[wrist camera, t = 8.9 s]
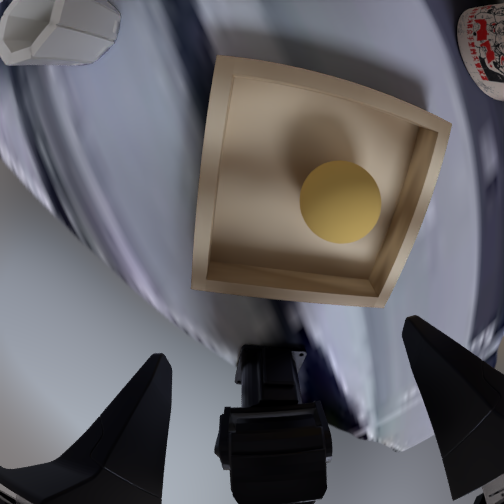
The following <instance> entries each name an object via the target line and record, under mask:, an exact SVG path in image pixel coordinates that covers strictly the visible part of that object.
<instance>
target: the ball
mask: <svg viewBox="0 0 504 504" xmlns="http://www.w3.org/2000/svg"><path fill="white" fill-rule="evenodd" d="M300 210H301V214H302V217H303V219H304V221H305V223H306V224H307V226H308V227H309V228H310V230H311V231H312V232H313V233H314V234H316V235H317V236H318V237H320V238H322V239H324V240H326V241H328V242H332V243H338V244H345V243H351V242H354V241H357V240H359V239H361V238H363V237H364V236H366V235H367V234H368V233H369V232H370V231H371V230H372V229H373V227H374V226H375V224H376V223H377V221H378V218H379V216H380V212H381V195H380V191H379V188H378V186H377V183H376V182H375V180H374V178H373V177H372V176H371V175H370V174H369V173H368V172H367V171H366V170H365V169H364V168H362V167H361V166H359V165H357V164H355V163H352V162H348V161H342V160H337V161H330V162H327V163H324V164H322V165H320V166H318V167H317V168H315V169H314V170H313V171H312V172H311V173H310V174H309V175H308V177H307V178H306V180H305V181H304V183H303V186H302V188H301V192H300Z"/></svg>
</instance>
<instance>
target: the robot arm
mask: <svg viewBox="0 0 504 504" xmlns="http://www.w3.org/2000/svg"><path fill="white" fill-rule="evenodd" d="M402 338H403V341H404V345H405V348H406V352H407V355H408V359H409V362H410V366H411V369H412V372H413V375H414V378H415V380H416V383H417V385H418V388H419V390H420V393H421V396H422V398H423V401H424V404H425V407H426V410H427V412H428V415H429V418H430V421H431V424H432V427H433V430H434V433H435V436H436V440H437V443H438V446H439V449H440V453H441V456H442V458H443V459H442V460H443V464H444V467H445V471H446V475H447V479H448V483H449V486H450V491H451V496H452V499H453V501H454V500H456V499H458V498H460V497H463V496H465V495H467V494H469V493H471V492H473V491H475V490H476V489H478V488H480V487H482V489H483V492H484V493H482V494H480V495H479V496H477V497H476V499H475V502H474V504H504V374H502V373H501V372H499V371H497V370H496V369H494V368H493V367H491V366H490V365H489V364H487V363H486V362H484V361H482V360H481V359H480V358H479V357H477V356H476V355H474V354H473V353H471V352H470V351H469V350H467V349H466V348H464V347H463V346H461V345H460V344H459V343H457V342H456V341H454V340H453V339H451V338H450V337H448V336H447V335H445V334H444V333H442V332H441V331H440V330H438V329H437V328H435V327H434V326H432V325H431V324H429V323H428V322H426V321H425V320H423V319H422V318H420V317H419V316H417V315H414V316H410V317H407V318H406V320H405V323H404V327H403V331H402ZM305 357H306V350H305V349H298V348H280V347H266V346H254V345H244V346H242V348H241V353H240V357H239V362H238V367H237V371H236V376H235V383H236V384H242V407H240V408H231V407H225V409H224V414H222V415H220V424H219V425H220V426H219V433H218V437H217V440H216V445H215V449H214V450H215V454H216V455H217V456H218V457H219V458H220V461H221V463H222V467H223V469H224V470H230V482H231V491H232V493H233V497H234V498H235V500H236V501H237V503H238V504H314V503H315V501H316V500H321V499H322V498H323V496H324V494H325V492H326V490H327V481H326V480H327V477H326V463H328V462H330V461H331V458H332V439H331V433H330V430H329V427H328V423H327V420H326V417H325V414H324V411H323V408H322V405H321V402H320V401H314V402H312V403H303V404H302V399H301V393H300V386H299V380H298V372H299V370H300V367H301V365H302V363H303V361H304V359H305ZM171 398H172V368H171V365H170V364H169V362H168V360H167V358H166V356H165V355H164V354H163V353H155V354H153V355H151V356H150V358H149V359H148V360H147V361H146V362H145V364H144V365H143V366H142V367H141V368H140V369H139V371H138V372H137V373H136V374H135V375H134V376H133V378H132V379H131V380H130V381H129V382H128V383H127V384H126V386H125V387H124V388H123V389H122V390H121V391H120V393H119V394H118V395H117V396H116V397H115V398H114V400H113V401H112V402H111V403H110V404H109V405H108V407H107V408H106V409H105V410H104V411H103V413H102V414H101V415H100V417H98V418H97V420H96V421H95V422H94V423H93V424H92V425H91V426H90V428H89V429H88V430H87V431H86V432H85V433H84V434H83V435H82V436H81V437H80V438H79V439H78V440H77V441H76V442H75V443H74V444H73V445H72V446H71V447H70V448H69V449H67V450H66V451H65V452H64V453H63V454H62V455H61V456H60V457H59V458H57V459H56V460H54V461H51V462H48V463H44V464H39V465H34V466H29V467H23V468H17V469H6V468H3V467H1V466H0V483H1V484H2V485H3V486H5V487H6V488H8V489H9V490H11V491H13V492H14V493H16V494H17V495H16V498H14V497H12V496H10V495H8V494H7V493H5V492H3V491H1V490H0V504H161V501H162V499H161V498H162V488H163V476H164V465H165V455H166V447H167V438H168V429H169V421H170V413H171V402H172V401H171V400H172V399H171Z"/></svg>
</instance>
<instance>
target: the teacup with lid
mask: <svg viewBox="0 0 504 504" xmlns="http://www.w3.org/2000/svg"><path fill="white" fill-rule="evenodd" d="M457 38H458V45H459V49H460V53H461V56H462V59H463V61H464V64H465V66H466V68H467V70H468V72H469V74H470V76H471V77H472V79H473V80H474V82H475V83H476V84H477V86H478V87H479V88H480V89H481V90H482V91H483V92H484V93H485V94H487V95H488V96H490V97H491V98H494V99H497V100H501V101H504V3H503V4H494V5H487V6H481V7H475V8H470V9H467V10H466V11H464V12H463V13H462V15H461V16H460V18H459V21H458V26H457Z"/></svg>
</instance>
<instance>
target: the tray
mask: <svg viewBox="0 0 504 504" xmlns="http://www.w3.org/2000/svg"><path fill="white" fill-rule="evenodd" d="M451 127H452V124H451V123H450V122H448V121H446V120H444V119H442V118H440V117H438V116H436V115H434V114H432V113H430V112H427V111H425V110H423V109H421V108H419V107H417V106H414V105H412V104H410V103H407V102H405V101H403V100H400V99H398V98H395V97H393V96H390V95H388V94H385V93H382V92H380V91H377V90H374V89H372V88H369V87H366V86H363V85H360V84H357V83H354V82H351V81H347V80H344V79H341V78H337V77H334V76H330V75H327V74H323V73H319V72H315V71H311V70H307V69H303V68H298V67H294V66H289V65H284V64H279V63H274V62H268V61H262V60H255V59H249V58H241V57H233V56H224V55H217V57H216V63H215V68H214V74H213V80H212V87H211V93H210V99H209V106H208V113H207V120H206V127H205V135H204V143H203V151H202V159H201V168H200V177H199V187H198V197H197V208H196V220H195V232H194V246H193V261H192V279H191V289H193V290H200V291H208V292H216V293H224V294H232V295H240V296H249V297H258V298H267V299H277V300H287V301H298V302H308V303H320V304H332V305H345V306H359V307H375V308H384V306H385V304H386V302H387V300H388V298H389V297H390V295H391V293H392V290H393V288H394V286H395V284H396V282H397V280H398V278H399V276H400V274H401V272H402V269H403V267H404V265H405V263H406V261H407V258H408V256H409V254H410V251H411V249H412V247H413V244H414V242H415V239H416V237H417V235H418V232H419V230H420V227H421V224H422V222H423V219H424V216H425V214H426V211H427V208H428V205H429V203H430V200H431V197H432V194H433V191H434V188H435V185H436V182H437V178H438V175H439V172H440V169H441V165H442V162H443V158H444V155H445V151H446V147H447V143H448V139H449V135H450V131H451ZM337 160H342V161H348V162H352V163H355V164H357V165H359V166H361V167H362V168H364V169H365V170H366V171H367V172H368V173H369V174H370V175H371V176H372V177H373V178H374V180H375V182H376V183H377V186H378V188H379V191H380V195H381V212H380V216H379V218H378V221H377V223H376V224H375V226H374V227H373V229H372V230H371V231H370V232H369V233H368V234H367V235H366V236H364V237H363V238H361V239H359V240H357V241H354V242H351V243H345V244H338V243H332V242H328V241H326V240H324V239H322V238H320V237H318V236H317V235H316V234H314V233H313V232H312V231H311V230H310V228H309V227H308V226H307V224H306V223H305V221H304V219H303V217H302V214H301V210H300V192H301V188H302V186H303V183H304V181H305V180H306V178H307V177H308V175H309V174H310V173H311V172H312V171H313V170H314V169H315V168H317V167H318V166H320V165H322V164H324V163H327V162H330V161H337Z"/></svg>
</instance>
